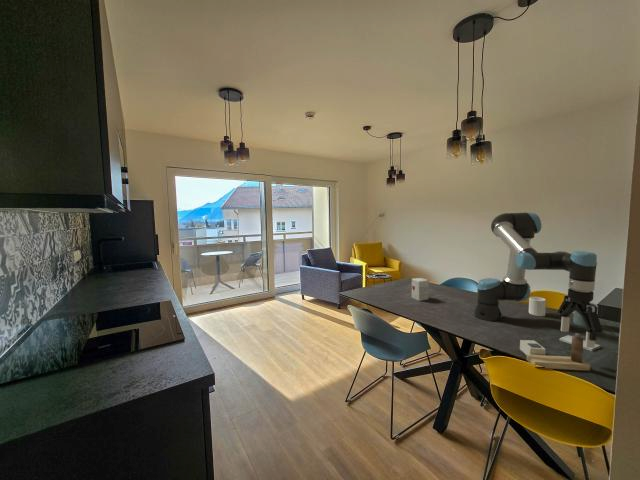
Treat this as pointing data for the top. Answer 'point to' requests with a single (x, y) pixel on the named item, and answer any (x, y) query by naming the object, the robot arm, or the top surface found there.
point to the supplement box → (420, 289)
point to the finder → (531, 347)
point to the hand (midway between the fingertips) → (576, 338)
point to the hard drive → (569, 340)
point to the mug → (537, 306)
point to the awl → (577, 348)
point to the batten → (557, 362)
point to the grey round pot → (579, 319)
